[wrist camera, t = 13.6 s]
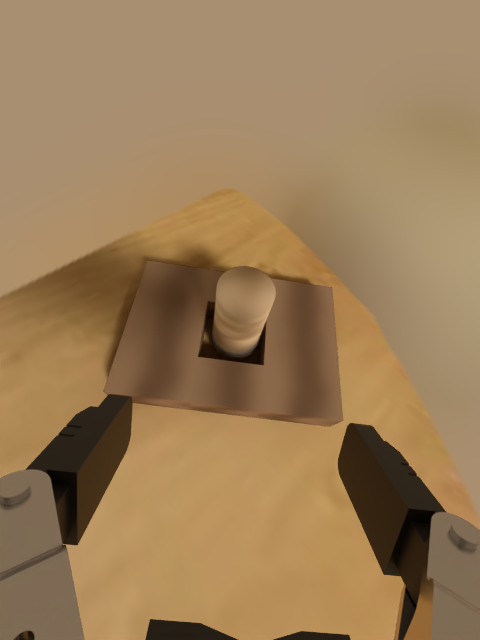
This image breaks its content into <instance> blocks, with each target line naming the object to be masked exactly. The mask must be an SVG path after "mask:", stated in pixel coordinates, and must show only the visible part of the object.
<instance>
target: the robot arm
mask: <svg viewBox="0 0 480 640" xmlns="http://www.w3.org/2000/svg"><path fill="white" fill-rule="evenodd" d="M131 421H132V397H131V396H124V395H116V394H109V395H108V396H107V397H106V398H105V399H104V401H103V402H102V403H101V404H100V405H99V407H92V406H90V407H89V408H87V409H85V410H83V411H81V412H80V413H78V414H76V415H75V416H74V418H73V419H72V420H71V421H70V422H69V423H68V424H67V426H66V427H64V428H63V429H62V431H61V432H60V433H59V435H58V436H56V437H55V438H54V439H53V440H52V441H51V443H50V444H49V445H48V446H47V447H46V448H45V449H44V450H43V451H42V452H41V453H40V455H39V456H38V457H37V458H36V459H35V460H34V461H33V462H32V463H31V464H30V465H29V466H28V468H27V469H26V470H22V471H17V472H14V473H11V474H8V475H6V476H4V477H1V478H0V640H84V635H83V629H82V624H81V619H80V614H79V609H78V603H77V598H76V593H75V588H74V582H73V577H72V572H71V567H70V561H69V556H68V552H67V548H66V545H63V544H69V545H78V543H79V541H80V539H81V537H82V536H83V534H84V532H85V530H86V528H87V526H88V524H89V522H90V520H91V518H92V516H93V514H94V512H95V511H96V509H97V507H98V505H99V503H100V501H101V499H102V497H103V495H104V493H105V491H106V489H107V487H108V486H109V484H110V482H111V480H112V478H113V476H114V474H115V472H116V470H117V468H118V466H119V464H120V462H121V461H122V459H123V457H124V455H125V453H126V451H127V448H128V445H129V441H130V436H131ZM338 470H339V475H340V477H341V480H342V482H343V484H344V486H345V489H346V491H347V493H348V495H349V498H350V500H351V502H352V504H353V507H354V509H355V511H356V513H357V516H358V518H359V520H360V522H361V524H362V527H363V529H364V531H365V533H366V536H367V538H368V540H369V542H370V545H371V547H372V549H373V551H374V554H375V556H376V558H377V560H378V563H379V565H380V567H381V569H382V572H383V574H384V575H393V576H401V578H402V580H403V582H404V587H403V589H402V592H401V597H400V604H399V610H398V617H397V623H396V630H395V636H394V640H480V530H479V529H478V528H476V527H475V526H474V525H472V524H471V523H469V522H468V521H466V520H464V519H463V518H460V517H458V516H456V515H453V514H450V513H447V512H446V511H445V510H444V509H443V507H442V506H441V505H440V503H439V502H438V501H437V500H436V498H435V497H434V496H433V494H432V493H431V492H430V491H429V489H428V488H427V487H426V485H425V484H424V483H423V482H422V480H421V479H420V478H419V477H417V474H416V473H415V471H414V470H413V469H412V467H411V466H409V464H408V462H407V461H406V460H405V458H404V457H403V456H402V455H401V453H400V452H399V451H398V450H396V449H395V448H394V447H393V446H391V445H390V444H389V443H388V442H386V441H383V439H382V438H381V437H380V435H379V434H378V433H377V431H376V430H375V429H374V427H373V426H371V425H363V424H355V423H350V424H349V425H348V426H347V429H346V433H345V436H344V440H343V443H342V447H341V451H340V454H339V458H338ZM146 640H237V639H235V638H233V637H231V636H228V635H226V634H224V633H221V632H219V631H217V630H215V629H212V628H210V627H208V626H206V625H203V624H201V623H191V622H178V621H165V620H153V619H150V622H149V627H148V631H147V636H146ZM274 640H350V636H349V635H343V634H330V633H317V632H305V631H301V632H297V633H294V634H291V635H287V636H284V637H281V638H277V639H274Z"/></svg>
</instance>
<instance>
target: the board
mask: <svg viewBox="0 0 480 640" xmlns="http://www.w3.org/2000/svg"><path fill="white" fill-rule="evenodd" d="M223 273H225V272H224V271H217V270H210V269H203V268H197V267H190V266H183V265H176V264H169V263H162V262H156V261H149V260H147V263H146V266H145V269H144V272H143V275H142V278H141V281H140V284H139V287H138V290H137V293H136V296H135V299H134V302H133V305H132V308H131V311H130V314H129V316H128V319H127V322H126V325H125V328H124V331H123V334H122V337H121V340H120V343H119V346H118V349H117V352H116V355H115V358H114V361H113V364H112V367H111V370H110V373H109V376H108V379H107V382H106V385H105V388H104V392H105V393H106V394H107V395H109V394H116V395H124V396H131V397H132V403H139V404H147V405H156V406H164V407H172V408H180V409H189V410H197V411H205V412H213V413H222V414H230V415H238V416H246V417H255V418H263V419H271V420H279V421H287V422H296V423H304V424H312V425H320V426H329V427H330V426H332V425H334V424H337V423H339V422H341V421H343V413H342V401H341V389H340V377H339V364H338V352H337V340H336V328H335V316H334V304H333V291H332V287H327V286H320V285H313V284H306V283H299V282H292V281H286V280H279V279H272V278H270V279H271V280H272V282H273V284H274V286H275V290H276V296H275V300H274V302H273V305H272V307H271V310H270V312H269V315H268V317H267V320H266V322H265V325H264V327H263V330H262V332H261V344H260V360H259V365H257V364H249V363H241V362H234V361H226V360H218V359H211V358H203V357H200V355H201V350H202V344H203V338H204V333H205V327H206V321H207V316H210V317H214V314H215V302H216V290H217V283H218V280H219V278H220V277H221V275H222V274H223Z"/></svg>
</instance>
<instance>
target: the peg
mask: <svg viewBox="0 0 480 640" xmlns="http://www.w3.org/2000/svg"><path fill="white" fill-rule="evenodd" d="M275 296H276V290H275V286H274V284H273V282H272V280H271V279H270V278H269V277H268V276H267V275H266V274H265V273H264V272H262V271H260V270H258V269H256V268H253V267H247V266H240V267H234V268H231V269H229V270H227V271H226V272H225V273H223V274H222V275H221V277H220V278H219V280H218V283H217V290H216V302H215V314H214V324H213V327H212V341H213V345H214V348H215V350H216V351H217V352H218V354H219V355H220V356H221V357H222V358H223V359H224V360H227V361H234V362H238V361H241V360H243V359H244V358H246V357H248V356H249V355H250V354H251V353H252V352H253V351H254V349H255V348H256V346H257V345H258V342H259V340H260V335H261V332H262V330H263V327H264V325H265V322H266V320H267V317H268V315H269V312H270V310H271V307H272V305H273V302H274V300H275Z"/></svg>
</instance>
